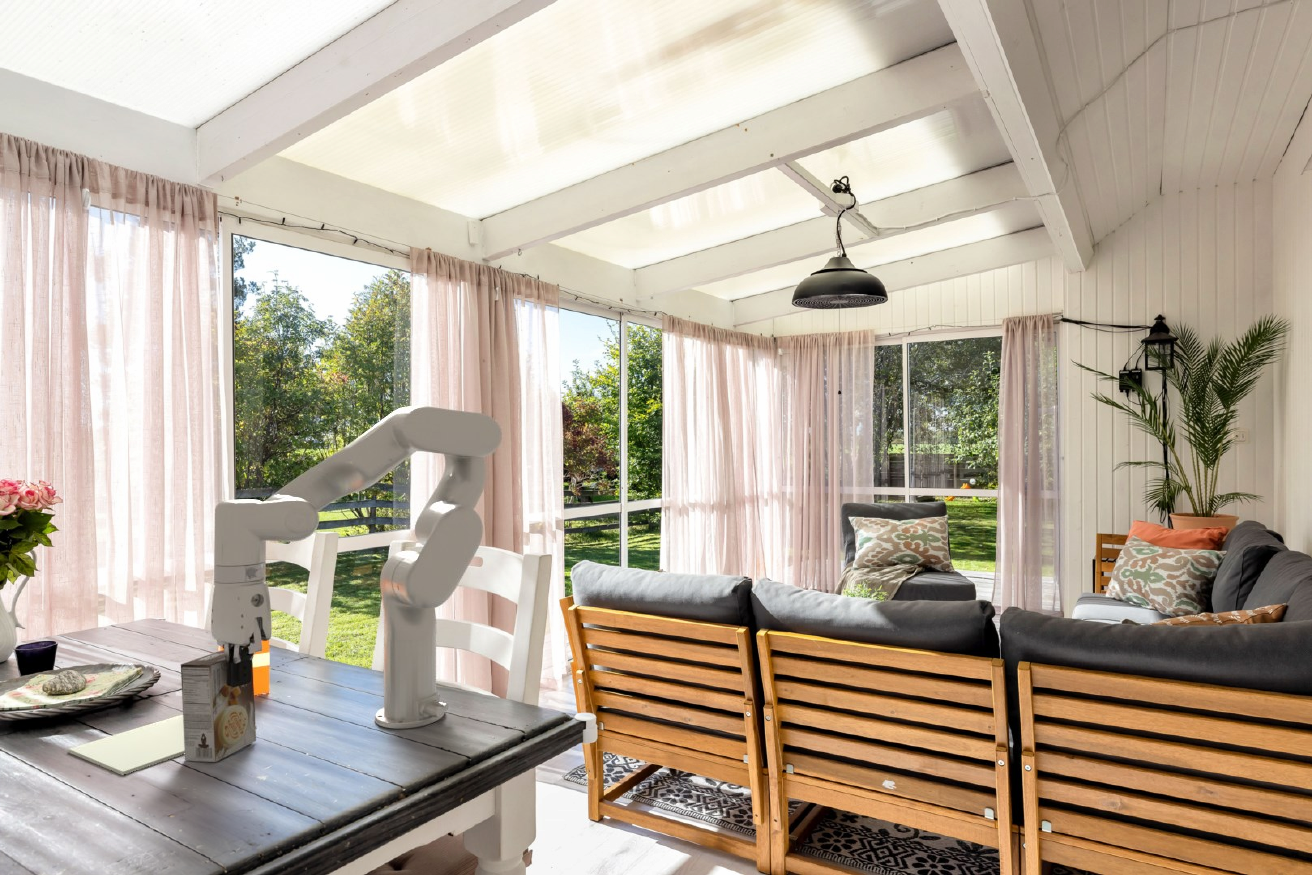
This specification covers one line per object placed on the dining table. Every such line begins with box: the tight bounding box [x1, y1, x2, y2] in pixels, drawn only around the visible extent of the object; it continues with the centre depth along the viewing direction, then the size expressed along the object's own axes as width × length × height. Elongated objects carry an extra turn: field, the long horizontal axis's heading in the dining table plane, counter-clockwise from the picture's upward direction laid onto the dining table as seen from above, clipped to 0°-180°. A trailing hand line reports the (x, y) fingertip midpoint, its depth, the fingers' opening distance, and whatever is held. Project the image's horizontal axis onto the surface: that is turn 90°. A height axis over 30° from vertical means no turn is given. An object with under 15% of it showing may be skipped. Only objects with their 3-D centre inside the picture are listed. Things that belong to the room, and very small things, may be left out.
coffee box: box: [180, 650, 257, 763], centre depth 127 cm, size 9×6×16 cm
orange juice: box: [217, 639, 271, 696], centre depth 158 cm, size 8×9×20 cm
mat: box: [67, 713, 258, 776], centre depth 132 cm, size 18×22×1 cm
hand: (238, 684), depth 124 cm, fingers closed
